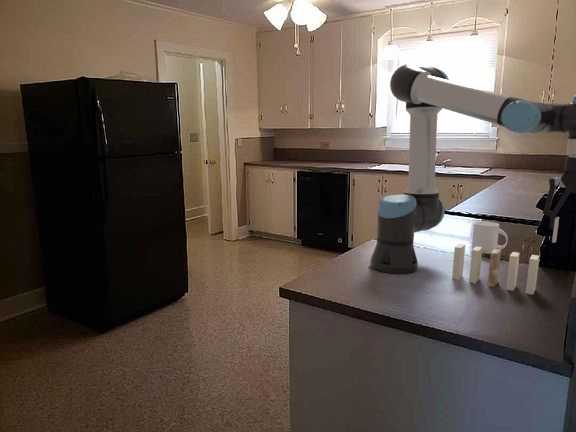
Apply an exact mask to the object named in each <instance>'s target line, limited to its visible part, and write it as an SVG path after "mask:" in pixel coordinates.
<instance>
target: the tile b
mask: <svg viewBox="0 0 576 432" xmlns="http://www.w3.org/2000/svg"><path fill="white" fill-rule="evenodd" d="M482 255H483V254H482V247H477V246H476V247H475V248H474V249H472V248H471V257H470V267H469V270H470V271H469V278H468V279H469V280H468V282H469V283H471V284H477V283H478V281H479V280H480V276H481V267H482V258H483V257H482Z"/></svg>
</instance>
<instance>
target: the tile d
mask: <svg viewBox="0 0 576 432" xmlns="http://www.w3.org/2000/svg"><path fill="white" fill-rule="evenodd" d="M539 263H540V255H537V254H536V255H535V254H531V256H530V257H529V261H528V271H527V276H526V277H527V279H526V286H525V294H527V295H534V293H535V291H536V288H537V279H538V270H539Z"/></svg>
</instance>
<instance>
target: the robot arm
mask: <svg viewBox="0 0 576 432" xmlns="http://www.w3.org/2000/svg"><path fill="white" fill-rule="evenodd" d="M447 75H448V74H446V73H445V72H444V71H443V70H442V69H439V68H437V67H434V66H427V65H420V64H416V63H405V64H404V65H401V66H400V67H398V68H397V69H396V70H395V71H394V72H393V74H392V75H391V77H390V83H389V84H390V85H389V87H390V92H391V93H392V95H393V97H395V99H397V100H398V101H401V102H403V103H405V111H406V112H407V113H408V114H409V116H410V118H409V149H408V150H409V151H408V154H409V155H408V179H407V180H408V186H407V187H406V188H405V189H404V190H403V194H391V195H387V196H384V197H382V198H381V199H380V200H379V202H378V208H377V228H376V229H377V230H376V231H377V233H376V234H377V235H376V244H375V246H374V249H373V251H372V255H371V257H370V262H369V263H370V265H369V266H370V267H371V268H372V269H373V270H376V271H378V272H381V273H387V274H393V275H394V274H396V275H403V274H404V275H405V274H412V273H414V272H417V270H418V268H419V267H418V265H419V263H418V259H417V255H416V254H417V253H416V251H415V248H414V239H415V233H418V232H421V231H429V230H431V229H433V228H435V227H437V226H438V225H440V223H441V222H442V221H443V219H444V216H445V213H446V212H445V205H444V202H443V201H442V199H440V191H439V190H438V189H437V188H436V186H435V181H436V161H437V160H436V159H437V133H438V115H439V113H440V112H441V111H442V110H443V109H444V110H447V111H451V112H454V113H458V114H460V115H464V116H466V117H471V118H473V119H477V120H481V121H484V122H487V123H491V124H494V125H498V126H500V127H503V128H505V129H506V130H508V131H511V132H514V133H518V134H522V133H523V134H525V133H529V134H530V133H531V134H537V133H538V134H539V133H543V134H545V133H547V134H548V133H551V134H552V133H563V134H564V133H568V138H567V144H566V145H567V146H566V155H568V156H566V157H565V160H564V161H565V162H564V169H563V173H562V175H561V177H560V176H559V177H550V178H549V179H548V182H549V189H548V191H547V192H548V193H547V196H546V199H545V204H544V207H543V211H542V214H543V215H545V216H548V217H549V225H548V228H549V230H551V231H552V230H553V233H552V239H551V243H554V244H555V243H556V242H557V237H558V230H559V223H560V222H559V220H560V217H559V216H557V215H558V213H559V212H560V210H561V209H562V207H563V205H564V203H565V202H566V200H567V198H568V197H569V195H570V193H571V194H575V193H576V94H575V95H574V96H573V97H572V101H571V102H565V103H564V102H563V103H545V102H537V101H536V102H535V101H531V100H526V99H523V98H519V97H513V96H509V95H506V94H503V93H498V92H494V91H491V90H487V89H484V88H483V89H482V88H478V87H475V86H471V85H467V84H464V83H459V82H455V81H451V80H449V77H448V76H447ZM560 182H562V184H563V185H564V187H565V190H564V192H563V194H562V195H561V197H560V198H559V200H558V201H557V203H556V205H555V207H554V209H553V210H550V208H551V205H552V203H553V200H554V195H555V192H556V189H557V186H558V185H560Z"/></svg>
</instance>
